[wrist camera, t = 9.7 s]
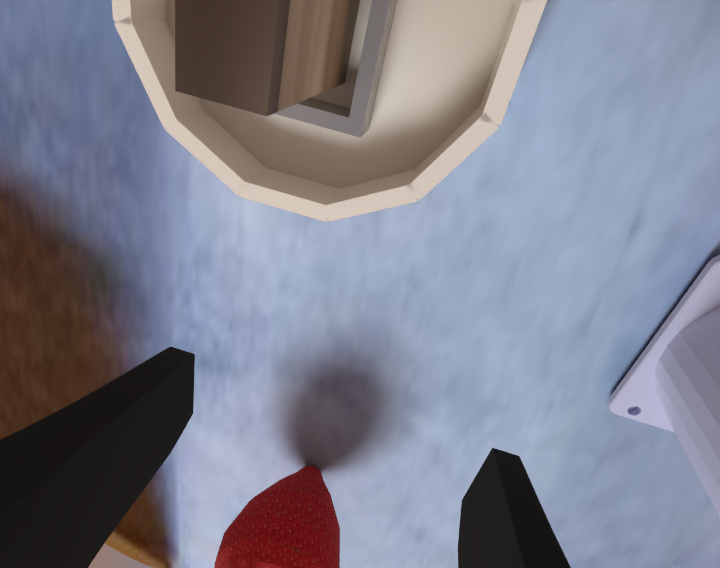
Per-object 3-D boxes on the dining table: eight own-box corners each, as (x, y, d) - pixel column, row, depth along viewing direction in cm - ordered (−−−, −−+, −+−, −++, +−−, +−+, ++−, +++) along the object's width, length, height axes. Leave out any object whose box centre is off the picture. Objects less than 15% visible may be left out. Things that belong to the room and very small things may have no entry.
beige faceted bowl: (610, -206, 11) (645, -262, 9) (452, 230, 17) (450, 258, 15) (155, -307, 12) (86, -382, 10) (162, 147, 18) (122, 162, 16)
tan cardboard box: (372, -64, 13) (293, -146, 7) (344, 82, 15) (267, 116, 9) (306, -80, 13) (174, -174, 7) (288, 67, 15) (175, 90, 9)
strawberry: (248, 481, 28) (155, 675, 20) (284, 408, 24) (188, 612, 16) (332, 519, 28) (276, 728, 20) (381, 454, 25) (337, 679, 16)
